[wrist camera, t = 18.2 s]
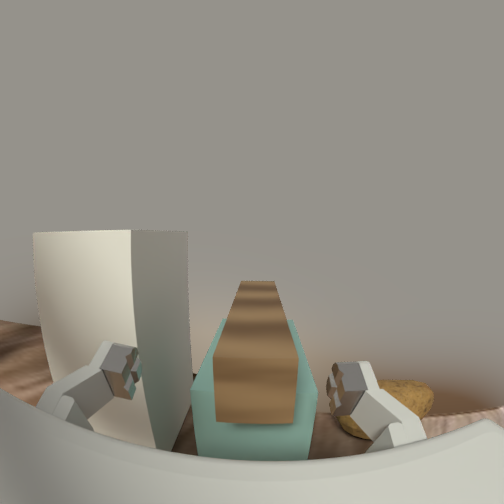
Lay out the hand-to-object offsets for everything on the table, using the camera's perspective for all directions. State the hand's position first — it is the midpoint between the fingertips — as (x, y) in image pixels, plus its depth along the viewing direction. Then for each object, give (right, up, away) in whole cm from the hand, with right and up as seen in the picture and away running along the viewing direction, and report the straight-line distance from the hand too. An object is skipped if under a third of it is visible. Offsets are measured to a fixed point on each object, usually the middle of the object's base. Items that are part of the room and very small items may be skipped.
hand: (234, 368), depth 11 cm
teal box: (+1, -19, +14) cm, 24 cm away
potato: (+18, -20, +18) cm, 32 cm away
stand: (-15, -19, +21) cm, 32 cm away
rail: (+1, -3, +13) cm, 13 cm away
